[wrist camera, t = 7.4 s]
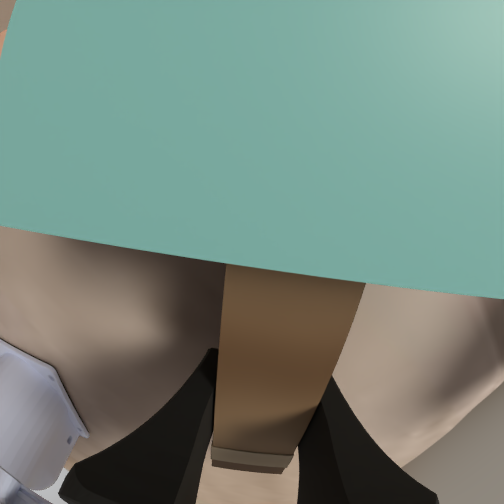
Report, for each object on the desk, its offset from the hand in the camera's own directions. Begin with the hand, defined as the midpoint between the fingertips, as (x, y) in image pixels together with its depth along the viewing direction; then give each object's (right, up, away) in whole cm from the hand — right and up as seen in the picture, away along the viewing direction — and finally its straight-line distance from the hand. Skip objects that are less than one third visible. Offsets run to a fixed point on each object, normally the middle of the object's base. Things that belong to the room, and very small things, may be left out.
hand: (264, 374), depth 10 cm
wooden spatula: (+1, +5, 0) cm, 5 cm away
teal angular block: (+1, +9, -2) cm, 9 cm away
